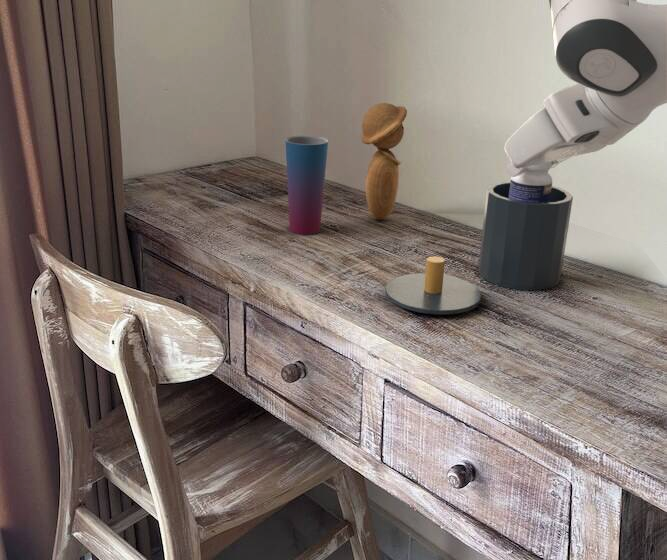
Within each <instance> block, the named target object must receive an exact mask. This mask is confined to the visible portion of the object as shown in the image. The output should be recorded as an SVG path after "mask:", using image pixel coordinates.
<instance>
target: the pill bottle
mask: <svg viewBox="0 0 667 560" xmlns="http://www.w3.org/2000/svg"><path fill="white" fill-rule="evenodd" d="M550 168H551V161H550V162H545V163H541V164H536V165H532V166H528V167H527V168H526V169H527V170H526V171H525V172H524V173H522V174H521V175H520V176H516V177H511V176H510V181H509V182H510V191H509V199H512V200H518V201H524V202H534V203H550V195H551V189H552V186H553V176H551V174H550V173H549V171H550ZM551 169H552V168H551Z"/></svg>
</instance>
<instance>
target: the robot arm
mask: <svg viewBox="0 0 667 560" xmlns="http://www.w3.org/2000/svg"><path fill="white" fill-rule="evenodd" d="M548 3H549V8H550V13H551V27H552V36H553V47H554V55H555V61H556V64H557V67H558V69H559V70H560V71H561V73H562V74H563V75H564V76H565V77H566V78H568V79H569V80H571V81H573V82H575V83H573V84H572V85H569V86H567V87H565V88H561V89H560V90H557V91H554V92H552V93H551V94H549V95H548V96H547V97H546V98H545V99H544V100H543V102H542V103H543V106H544V107H543V108H541V109H539V110H538V111H536V112H535V113H534V114H532V115H531V116H530V117H529V118H527V120H526V121H525V122H524V123H523V124H521V125H520V126H519V127H518V128H517V129H516V130H515V132H513V133H512V134H511V136H510V137H509V138H508V139H507V140H506V142H505V143H504V146H503V147H504V152H505V154H506V155H507V157H508V159H509V161H510V163H509V164H508V165H507V166H506V171H507V173H508V174H509V176H510V178H511V177H516V176H520V175H521V174H522V173H524V172H525V171H526V170H527V169H526V168H527V167H528V166H532V165H536V164H541V163H545V162H550V161H551V168H550V169H554V168H556V167H557V166H558V165H559V164H561V163H563V162H565V161H567V160H569V159H571V158H572V157H573V158H574V157H576V156H583V155H585V154H591V153H595V152H599V151H600V150H602V149H604V148H606V147H607V146H611V145H614V144H616V143H617V142H618V141H620V140H621V139H623V138H624V137H625V136H626V135H628V134H629V133H630V132H632V131H633V130H634V129H635V128H637V127H638V126H639V125H641V124H643V122H645V121H646V120H647V119H648V117H649V116H650V115H651V113H652V112H653V111H654V110H656V109H657V108H658V107H660V106H662V105H664V104H667V4H651V3H650V4H649V3H643V2H639V1H637V0H548ZM550 169H549V170H550Z"/></svg>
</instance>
